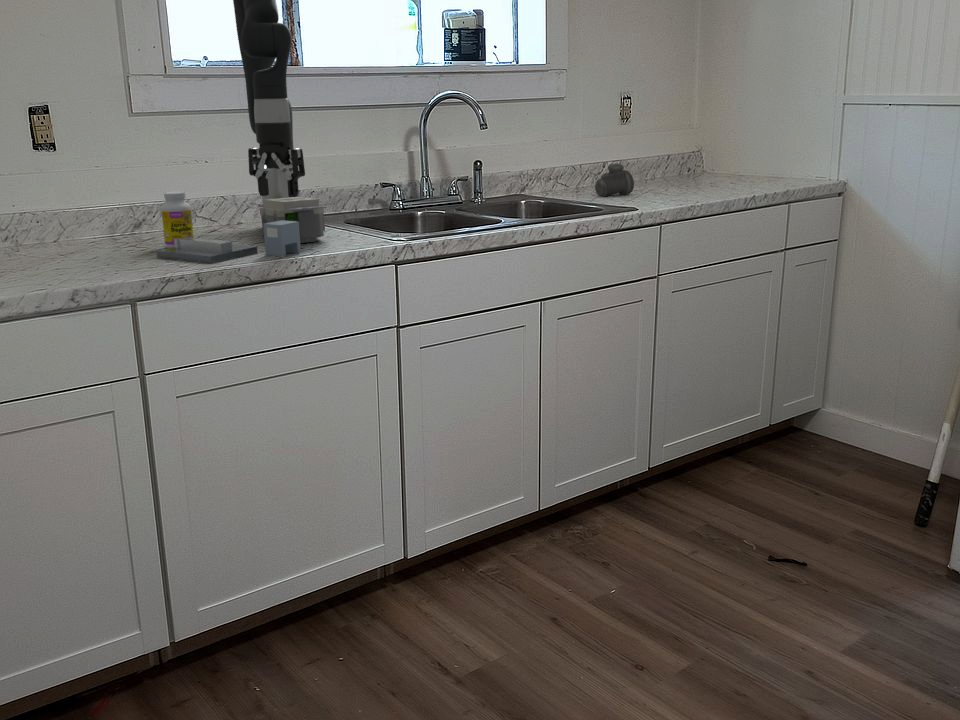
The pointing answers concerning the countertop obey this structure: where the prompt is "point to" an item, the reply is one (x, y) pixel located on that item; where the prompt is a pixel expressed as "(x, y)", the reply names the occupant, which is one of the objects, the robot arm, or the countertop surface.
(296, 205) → the electrical outlet
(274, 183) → the robot arm
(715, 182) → the countertop surface
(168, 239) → the supplement bottle
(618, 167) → the pipe fitting
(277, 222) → the block
